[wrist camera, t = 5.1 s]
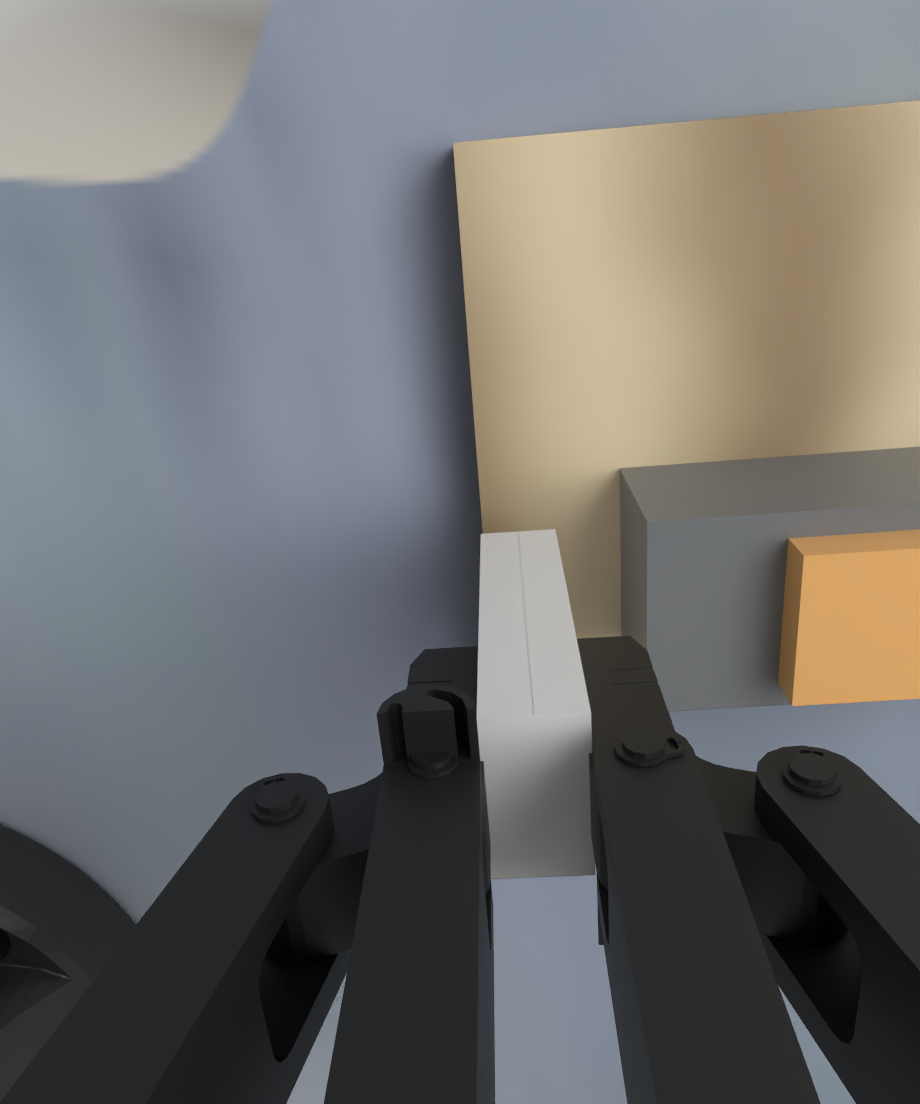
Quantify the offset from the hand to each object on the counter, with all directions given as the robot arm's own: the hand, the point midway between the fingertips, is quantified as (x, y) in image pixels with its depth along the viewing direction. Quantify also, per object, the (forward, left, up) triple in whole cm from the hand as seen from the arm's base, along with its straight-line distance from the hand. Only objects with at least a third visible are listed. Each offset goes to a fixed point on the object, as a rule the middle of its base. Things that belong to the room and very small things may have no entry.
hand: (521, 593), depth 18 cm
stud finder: (+6, 0, -2) cm, 6 cm away
